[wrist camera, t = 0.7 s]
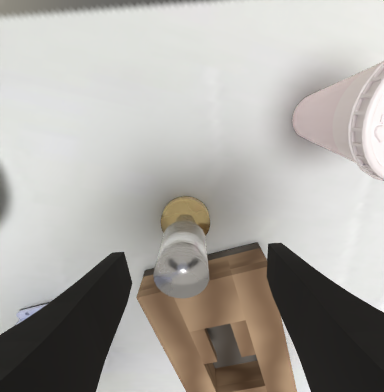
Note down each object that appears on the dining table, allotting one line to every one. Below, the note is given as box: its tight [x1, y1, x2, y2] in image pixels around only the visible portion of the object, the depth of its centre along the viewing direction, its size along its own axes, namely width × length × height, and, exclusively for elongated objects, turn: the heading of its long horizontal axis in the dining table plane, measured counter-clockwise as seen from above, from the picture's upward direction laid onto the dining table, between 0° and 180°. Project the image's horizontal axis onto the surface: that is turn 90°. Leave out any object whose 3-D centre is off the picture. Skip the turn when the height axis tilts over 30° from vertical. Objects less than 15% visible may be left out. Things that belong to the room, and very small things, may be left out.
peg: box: [153, 196, 210, 298], centre depth 17 cm, size 5×5×8 cm
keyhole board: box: [137, 242, 297, 392], centre depth 25 cm, size 13×22×4 cm, turn 17°
